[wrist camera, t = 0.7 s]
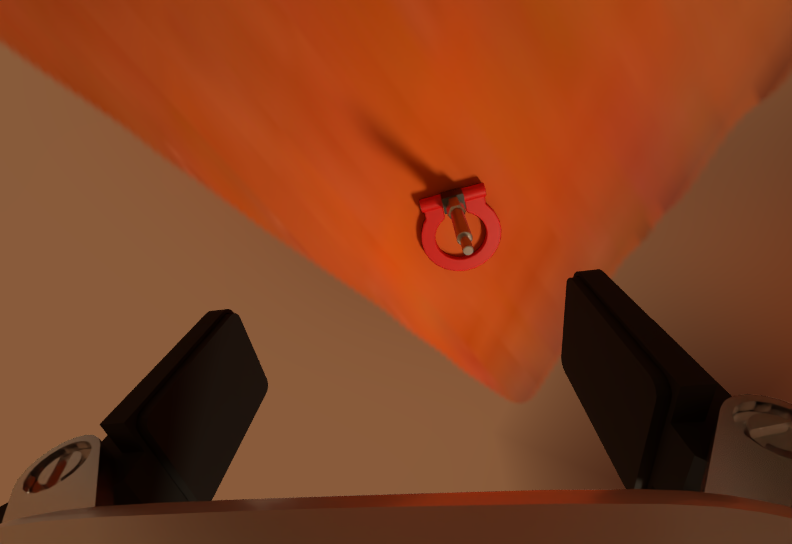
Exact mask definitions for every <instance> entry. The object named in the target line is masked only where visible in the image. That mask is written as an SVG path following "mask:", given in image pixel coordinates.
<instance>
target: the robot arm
mask: <svg viewBox="0 0 792 544" xmlns="http://www.w3.org/2000/svg"><path fill="white" fill-rule="evenodd" d="M561 360H562V365H563V368H564V371H565V373H566V375H567V377H568V379H569V381H570V382H571V384H572V386H573V388H574V390H575V392H576V394H577V396H578V398H579V400H580V402H581V404H582V406H583V407H584V409H585V411H586V413H587V415H588V417H589V419H590V421H591V423H592V425H593V427H594V429H595V430H596V432H597V434H598V436H599V438H600V440H601V442H602V444H603V446H604V448H605V450H606V452H607V454H608V455H609V457H610V459H611V461H612V463H613V465H614V467H615V469H616V471H617V473H618V475H619V477H620V478H621V480H622V482H623V484H624V486H625V488H626V489H596V490H532V491H495V492H494V491H493V492H457V493H421V494H420V493H419V494H387V495H357V496H330V497H329V496H326V497H298V498H268V499H245V500H244V499H242V500H218V501H211V500H212V498H213V497H214V495H215V493H216V491H217V489H218V487H219V485H220V483H221V481H222V479H223V477H224V475H225V473H226V471H227V469H228V467H229V465H230V463H231V461H232V459H233V458H234V455H235V453H236V452H237V450H238V448H239V446H240V443H241V441H242V440H243V438H244V436H245V434H246V432H247V430H248V428H249V426H250V424H251V422H252V420H253V418H254V416H255V414H256V412H257V410H258V408H259V406H260V404H261V402H262V400H263V398H264V396H265V394H266V392H267V389H268V382H267V378H266V376H265V374H264V372H263V369H262V367H261V365H260V362H259V360H258V358H257V355H256V353H255V351H254V349H253V347H252V344H251V342H250V339H249V337H248V335H247V333H246V330H245V328H244V326H243V323H242V321H241V319H240V317H239V315H238V314H236V313H233V312H232V310H229V309H225V310H216V311H209V312H208V313H207V314H205V315H204V316H203V317H202V318H201V320H200V321H199V322H198V323H197V324H196V325H195V326H194V327H193V328H192V329H191V330H190V331H189V332H188V333H187V334H186V335H185V336H184V337H183V338H182V339H181V340H180V341H179V342H178V343H177V345H176V346H175V347H174V348H173V349H172V350H171V351H170V352H169V353H168V354H167V355H166V356H165V357H164V358H163V359H162V360H161V361H160V362H159V363H158V364H157V365H156V366H155V367H154V369H153V370H152V371H151V372H150V373H149V374H148V375H147V376H146V377H145V378H144V379H143V380H142V381H141V382H140V383H139V384H138V385H137V386H136V387H135V388H134V390H132V391H131V392H130V393H129V394H128V395H127V397H126V398H125V399H124V400H123V401H122V402H121V403H120V404H119V405H118V406H117V407H116V408H115V409H114V410H113V411H112V412H111V413H110V414H109V415H108V416H107V417H106V418H105V419H104V421H102V423H101V424H100V425H101V427H102V428H103V429H104V431H105V432H106V433H107V434H108V435H107V437H106V438H105V439H104V440H103V441H101V440H100V439H99V438H98V437H96V436H94V435H84V436H80V437H76V438H73V439H71V440H68V441H66V442H64V443H62V444H60V445H58V446H57V447H55V448H53V449H51V450H50V451H48V452H47V453H46V454H44V455H43V456H41V457H40V458H39V459H37V460H36V461H35V462H34V463H33V464H32V465H31V466H30V467H28V468H27V470H25V472H24V473H23V474H22V475H21V477H20V478H19V479H18V480H17V482H16V484H15V486H14V488H13V490H12V493H11V496H10V499H9V502H8V503H6V504H4V505H3V506H1V507H0V544H792V404H791V403H788V402H785V401H783V400H779V399H775V398H771V397H767V396H762V395H751V394H744V395H737V396H731V395H730V394H729V393H728V392H727V391H726V390H725V389H724V388H723V387H722V386H721V385H720V384H719V383H718V382H716V381H715V380H714V379H713V378H712V377H711V376H710V375H709V374H708V373H707V372H706V371H705V370H704V369H703V368H702V367H701V366H700V365H699V364H698V363H697V362H696V361H695V360H694V359H693V358H692V357H691V356H690V355H689V354H688V353H687V352H686V351H685V350H684V349H683V348H682V347H680V345H678V344H677V342H675V341H674V340H673V339H672V338H671V337H670V336H669V335H668V334H667V333H666V332H665V331H664V330H663V329H662V328H661V327H660V326H659V325H658V324H657V323H656V322H655V321H654V320H653V319H651V318H650V317H649V316H648V315H647V314H646V313H645V312H644V311H643V310H642V309H641V308H640V307H639V306H638V305H637V304H636V303H635V302H634V301H633V300H632V299H631V298H630V297H629V296H628V295H627V294H626V293H625V292H624V291H623V290H622V289H620V288H619V286H617V285H616V284H615V283H614V282H613V281H612V280H611V279H610V278H609V277H608V276H607V275H606V274H605V273H604V272H603V271H602V270H600V269H597V270H588V271H579V272H576V273H575V274H574V277H573V278H568V280H567V285H566V299H565V312H564V326H563V340H562V354H561Z"/></svg>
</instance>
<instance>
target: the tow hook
mask: <svg viewBox="0 0 792 544" xmlns="http://www.w3.org/2000/svg"><path fill="white" fill-rule="evenodd" d="M485 196H486V190H485V186H484V183H479V184H476V185H472V186H468V187H465V188H457V189H453V190H450V191H446V192H442V193H441V194H439V195H435V196H431V197H428V198H424V199H420V200H419V204H420V208H421V211H422V213H424V214H425V217H426V219H425V220H424V222H423V226H422V230H421V238H422V245H423V248H424V251H425V253H426V254H427V256H428V257H429V259H430V260H431V261H433V262H434V263H435V264H436V265H438V266H440V267H442V268H444V269H448V270H453V271H465V270H469V269H473V268H476V267H478V266H479V265H481V264H483V263H485V262H486V261H487V260H488V259H489V258H490V257H492V255H493V254H494V252H495V251H496V249H497V248H498V245H499V242H500V240H501V226H500V221H499V219H498V217H497V215H496V214H495V212H494V210H493V209H492V208H491V207H490V206H489V205H488V204H487V203H486V201H485ZM443 208H444V211H443ZM465 209H466V210H465ZM466 211H467V212H468V213H472V214H474V215H476V216H478V217H479V218H480V219H481V220H482V221H483V223H484V224H485V228H486V236H485V239H484V242H483V243H482V245H481V246H480V248H479V249H477V250H476V251H475V252H474V249H473V246H472V243H471V241H472V234H471V232H470V229H469V226H468V223H467V220H466V218H465V212H466ZM444 212H445V214H448V216H449V217H450V218H451V219H452V223H453V227H454V231H455V235H456V238H457V242H458V243H459V244H460V245H461V246H462V250H463V253H464V254H465V255H466V256H462V257H455V256H450V255H448V254H446V253H444V252H443V251H442V250H441V249H440V248H439V246H438V245H437V243H436V240H435V234H436V230H437V228H438V226H439V224H440V223H441V222H442V221H443V220H444V218H445V215H444Z"/></svg>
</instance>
